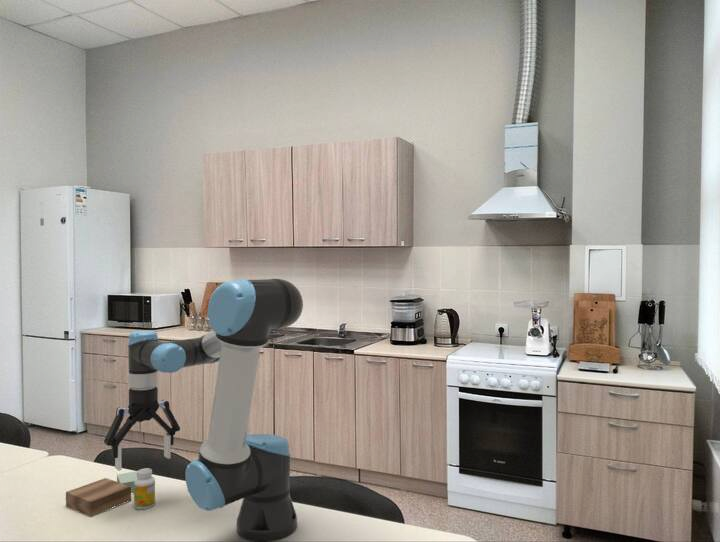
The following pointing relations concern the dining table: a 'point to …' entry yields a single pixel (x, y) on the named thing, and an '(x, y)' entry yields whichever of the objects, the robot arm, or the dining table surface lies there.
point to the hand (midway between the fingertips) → (143, 463)
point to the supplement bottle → (144, 489)
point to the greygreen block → (127, 479)
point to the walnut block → (98, 496)
